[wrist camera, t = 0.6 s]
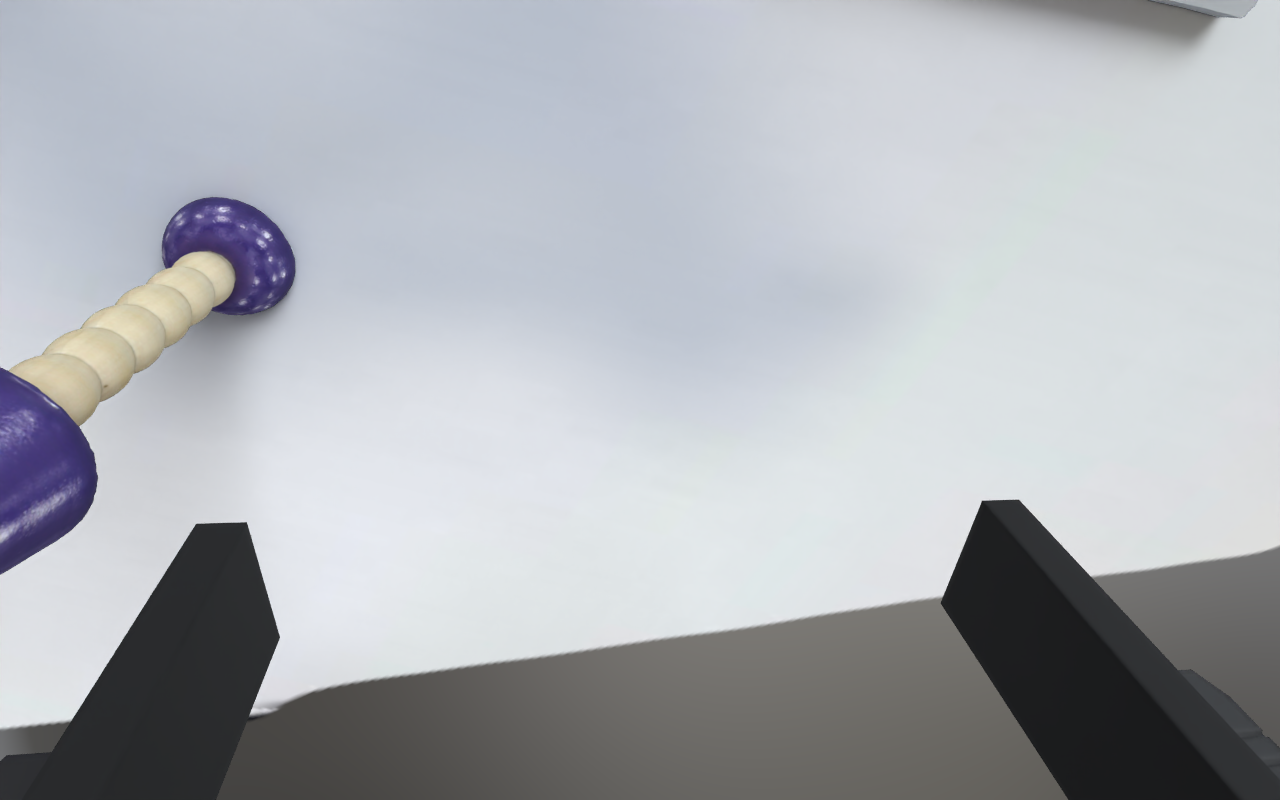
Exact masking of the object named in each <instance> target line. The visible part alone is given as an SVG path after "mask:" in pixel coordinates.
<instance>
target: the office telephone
mask: <svg viewBox="0 0 1280 800" xmlns="http://www.w3.org/2000/svg"><path fill="white" fill-rule="evenodd" d="M1151 1H1155V2H1160V3H1164V4H1169V5H1174V6H1178V7H1182V8H1186V9H1190V10H1194V11H1197V12H1201V13H1205V14H1208V15H1212V16H1216V17H1231V18H1243V17H1245V16H1246V15H1247V14H1248V12H1249V11H1250V10H1251V9H1252V8H1253V7H1254V6H1255V5H1256V3H1257V1H1258V0H1151Z"/></svg>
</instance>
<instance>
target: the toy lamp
mask: <svg viewBox="0 0 1280 800" xmlns="http://www.w3.org/2000/svg"><path fill="white" fill-rule="evenodd" d="M162 258H163V261H164V265H165V267H166V269H165V270H162V271H160V272H158V273H157V274H155V275H154V276H153V277H152V278H150V279H149V280H148V282H147V283H146V285H142V286H138V287H136V288H133V289H132V290H130V291H128V292H127V293H125V294H124V295H123V296H122V297H121V298H120V299H119V300H118V301H117V303H116V304H115V306H111V307H107V308H104V309H101V310H100V311H98V312H96V313H95V314H93V315H92V316H91V317H90V318H89V319H88V320H86V322H85V323H84V324H83V325H82V327H81V329H78V330H74V331H71V332H69V333H66V334H64V335H63V336H61V337H59V338H57V339H56V340H55V341H53V342H52V343H51V344H50V345H49V346H48V347H47V348H46V349H45V351H44V352H43V354H42V355H41V356H37V357H33V358H30V359H28V360H25V361H23V362H21V363H19V364H17V365H16V366H14V367H12V368H11V369H10V370H9V371H7V370H5V369H2V368H0V575H1V574H2V573H4V572H6V571H8V570H9V569H11V568H13V567H14V566H16V565H18V564H19V563H21V562H22V561H24V560H26V559H27V558H29V557H30V556H32V555H34V554H35V553H37V552H39V551H41V550H42V549H44V548H45V547H47V546H49V545H50V544H52V543H54V542H55V541H57V540H58V539H60V538H61V537H63V536H64V535H65V534H67V533H68V532H69V531H71V530H72V529H73V528H74V527H75V526H76V525H77V524H78V523H79V522H80V521H81V520H82V519H83V518H84V516H85V515H86V513H87V512H88V510H89V508H90V506H91V505H92V503H93V500H94V495H95V492H96V488H97V481H98V475H97V473H96V463H95V457H94V453H93V451H92V450H91V448H90V445H89V443H88V441H87V439H86V438H85V436H84V434H83V433H82V431H81V429H80V427H79V426H80V425H82V424H83V423H84V422H85V421H86V420H87V419H88V418H89V417H90V416H91V415H92V414H93V413H94V411H95V409H96V407H97V405H98V403H99V402H101V401H104V400H106V399H108V398H110V397H112V396H114V395H115V394H117V393H118V392H119V391H120V390H122V389H123V388H124V387H125V386H126V385H127V383H128V382H129V380H130V379H131V377H132V375H133V374H134V373H138V372H140V371H142V370H144V369H146V368H147V367H149V366H150V365H151V364H152V363H154V362H155V361H156V360H157V358H158V357H159V356H160V354H161V353H162V351H163V349H164V348H166V347H169V346H171V345H173V344H175V343H176V342H178V341H179V340H180V339H181V338H182V337H183V336H184V335H185V334H186V332H187V331H188V329H189V327H190V326H192V325H195V324H197V323H198V322H200V321H201V320H203V319H204V318H205V317H206V316H207V315H208V314H209V313H210V311H215V312H219V313H222V314H227V315H246V314H254V313H257V312H261V311H263V310H266V309H268V308H270V307H272V306H274V305H276V304H277V303H278V302H279V301H280V300H281V299H283V297H284V296H285V295H286V294H287V292H288V290H289V289H290V287H291V286H292V283H293V280H294V276H295V258H294V256H293V253H292V250H291V247H290V245H289V243H288V241H287V240H286V238H285V237H284V235H283V233H282V232H281V230H280V229H279V228H278V226H277V225H276V224H275V223H273V222H272V221H271V220H270V219H269V218H268V217H267V216H266V215H265V214H264V213H262V212H261V211H259V210H257V209H256V208H254V207H252V206H250V205H248V204H245V203H243V202H240V201H238V200H231V199H228V198H218V197H210V198H203V199H199V200H196V201H194V202H191V203H189V204H187V205H186V206H184V207H183V208H181V209H180V210H179V211H178V212H177V213H176V214H175V215H174V216H173V218H172V219H171V220H170V222H169V224H168V225H167V227H166V230H165V232H164V236H163V241H162Z"/></svg>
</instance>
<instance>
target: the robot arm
mask: <svg viewBox="0 0 1280 800" xmlns="http://www.w3.org/2000/svg"><path fill="white" fill-rule="evenodd" d="M941 604H942V606H943V607H944V609H945V611H946V612H947V614H948V615H949V617H950V618H951V620H952V621H953V623H954V624H955V626H956V627H957V629H958V630H959V632H960V634H961V635H962V637H963V638H964V640H965V641H966V643H967V644H968V646H969V647H970V649H971V651H972V652H973V653H974V655H975V657H976V658H977V660H978V661H979V663H980V664H981V666H982V667H983V669H984V671H985V672H986V673H987V675H988V677H989V678H990V680H991V681H992V683H993V684H994V686H995V687H996V689H997V690H998V692H999V693H1000V695H1001V696H1002V698H1003V700H1004V701H1005V703H1006V704H1007V706H1008V707H1009V709H1010V711H1011V712H1012V714H1013V715H1014V717H1015V718H1016V720H1017V721H1018V723H1019V724H1020V726H1021V727H1022V729H1023V730H1024V732H1025V733H1026V735H1027V736H1028V738H1029V739H1030V741H1031V743H1032V744H1033V746H1034V747H1035V749H1036V750H1037V752H1038V753H1039V755H1040V756H1041V758H1042V759H1043V761H1044V763H1045V764H1046V766H1047V767H1048V769H1049V770H1050V772H1051V773H1052V775H1053V777H1054V778H1055V780H1056V781H1057V783H1058V784H1059V786H1060V787H1061V788H1062V790H1063V792H1064V793H1065V795H1066V796H1067V798H1068V800H1280V748H1279V747H1278V746H1277V745H1276V744H1275V743H1274V742H1273V741H1272V740H1271V739H1270V738H1269V737H1265V736H1264V735H1263V734H1262V729H1261V728H1259V726H1258V725H1257V724H1256V723H1255V722H1254V721H1253V720H1252V719H1251V718H1250V717H1249V716H1248V715H1247V714H1246V713H1245V712H1244V711H1243V710H1242V709H1241V708H1240V707H1239V706H1238V705H1237V704H1236V703H1235V702H1234V701H1233V700H1232V699H1231V697H1229V696H1228V695H1226V694H1225V693H1223V692H1222V691H1221V690H1219V689H1218V688H1217V687H1215V686H1214V685H1212V684H1211V683H1210V682H1208V681H1207V680H1205V679H1204V678H1203V677H1201V676H1200V675H1198V674H1197V673H1195V672H1194V671H1193V670H1177V669H1176V668H1175V667H1174V666H1173V664H1172V663H1171V662H1170V661H1169V660H1168V659H1167V658H1166V657H1165V656H1164V655H1163V654H1162V653H1161V652H1160V650H1159V649H1158V648H1157V647H1156V646H1155V645H1154V644H1153V643H1152V642H1151V641H1150V640H1149V639H1148V638H1147V637H1146V636H1145V634H1144V633H1143V632H1142V631H1141V630H1140V629H1139V628H1138V627H1137V626H1136V625H1135V624H1134V623H1133V622H1132V620H1131V619H1130V618H1129V617H1128V616H1127V615H1126V614H1125V613H1124V612H1123V611H1122V610H1121V609H1120V608H1119V607H1118V606H1117V604H1116V603H1115V602H1113V600H1112V599H1111V598H1110V597H1109V596H1108V595H1107V594H1106V593H1105V592H1104V590H1103V589H1102V588H1101V587H1100V586H1099V585H1098V584H1097V583H1096V582H1095V581H1094V580H1093V579H1092V578H1091V577H1090V575H1089V574H1088V573H1087V572H1086V571H1085V570H1084V569H1083V568H1082V567H1081V566H1080V565H1079V564H1078V563H1077V562H1076V560H1075V559H1074V558H1073V557H1072V556H1071V555H1070V554H1069V553H1068V552H1067V551H1066V550H1065V549H1064V548H1063V547H1062V545H1061V544H1060V543H1059V542H1058V541H1057V540H1056V539H1055V538H1054V537H1053V536H1052V535H1051V534H1050V533H1049V532H1048V530H1047V529H1046V528H1045V527H1044V526H1043V525H1042V524H1041V523H1040V522H1039V521H1038V520H1037V519H1036V518H1035V516H1034V515H1033V514H1032V513H1031V512H1030V511H1029V510H1028V509H1027V508H1026V507H1025V506H1024V505H1023V504H1022V503H1021V501H1020V500H992V501H982V503H981V505H980V508H979V510H978V513H977V515H976V518H975V520H974V522H973V525H972V527H971V530H970V532H969V535H968V537H967V540H966V542H965V545H964V547H963V549H962V552H961V554H960V557H959V559H958V562H957V564H956V567H955V569H954V571H953V574H952V576H951V579H950V581H949V584H948V586H947V589H946V591H945V594H944V596H943V599H942V601H941ZM279 638H280V636H279V633H278V629H277V626H276V622H275V619H274V615H273V612H272V608H271V605H270V601H269V598H268V594H267V591H266V588H265V584H264V581H263V577H262V574H261V570H260V567H259V563H258V560H257V556H256V553H255V549H254V546H253V542H252V539H251V535H250V532H249V528H248V525H247V522H244V523H210V524H196V525H195V527H194V528H193V530H192V531H191V533H190V535H189V536H188V538H187V539H186V541H185V542H184V544H183V546H182V547H181V549H180V550H179V552H178V553H177V555H176V557H175V558H174V560H173V561H172V563H171V565H170V566H169V568H168V569H167V571H166V572H165V574H164V576H163V577H162V579H161V580H160V582H159V584H158V585H157V587H156V588H155V590H154V591H153V593H152V595H151V596H150V598H149V599H148V601H147V602H146V604H145V606H144V607H143V609H142V610H141V612H140V614H139V615H138V617H137V618H136V620H135V621H134V623H133V625H132V626H131V628H130V629H129V631H128V633H127V634H126V636H125V637H124V639H123V640H122V642H121V644H120V645H119V647H118V648H117V650H116V651H115V653H114V655H113V656H112V658H111V659H110V661H109V663H108V664H107V666H106V667H105V669H104V670H103V672H102V674H101V675H100V677H99V678H98V680H97V682H96V683H95V685H94V686H93V688H92V689H91V691H90V693H89V694H88V696H87V697H86V699H85V700H84V702H83V704H82V705H81V707H80V708H79V710H78V712H77V713H76V715H75V716H74V718H73V719H72V721H71V723H70V724H69V726H68V727H67V729H66V731H65V732H64V734H63V735H62V737H61V738H60V740H59V742H58V743H57V745H56V746H55V748H54V750H53V751H52V752H50V753H35V754H21V755H8V756H6V757H4V758H3V759H2V760H1V761H0V800H216V798H217V795H218V793H219V790H220V788H221V785H222V783H223V780H224V778H225V775H226V772H227V770H228V767H229V765H230V762H231V760H232V758H233V755H234V752H235V750H236V747H237V745H238V742H239V740H240V737H241V734H242V732H243V730H244V727H245V725H246V722H247V720H248V717H249V714H250V712H251V709H252V707H253V704H254V702H255V699H256V697H257V694H258V692H259V689H260V687H261V684H262V682H263V679H264V676H265V674H266V671H267V669H268V666H269V664H270V661H271V659H272V656H273V654H274V651H275V649H276V646H277V644H278V641H279Z"/></svg>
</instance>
